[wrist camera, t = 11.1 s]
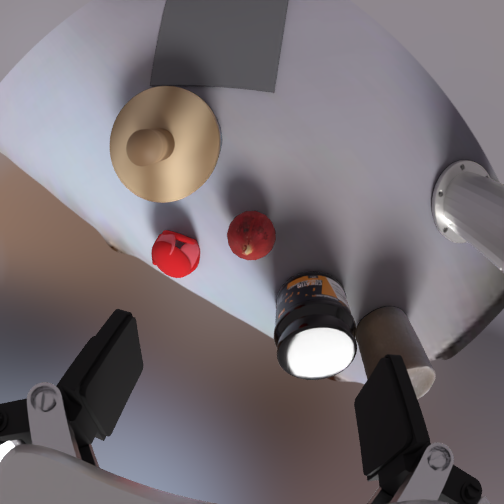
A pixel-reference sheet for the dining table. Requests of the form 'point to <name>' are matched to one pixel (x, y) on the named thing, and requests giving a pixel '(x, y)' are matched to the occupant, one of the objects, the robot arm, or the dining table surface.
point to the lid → (165, 144)
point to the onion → (251, 235)
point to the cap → (175, 254)
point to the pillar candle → (394, 345)
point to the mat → (220, 43)
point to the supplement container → (314, 327)
